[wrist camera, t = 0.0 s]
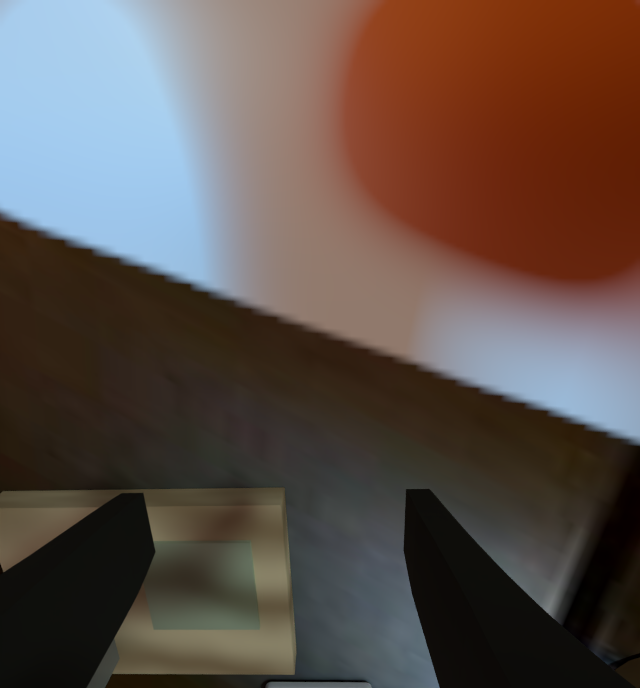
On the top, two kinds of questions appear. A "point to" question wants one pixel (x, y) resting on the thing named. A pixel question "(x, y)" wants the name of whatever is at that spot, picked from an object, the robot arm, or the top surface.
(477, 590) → the robot arm
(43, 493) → the board
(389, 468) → the top surface
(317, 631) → the top surface
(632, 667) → the squeeze bottle
